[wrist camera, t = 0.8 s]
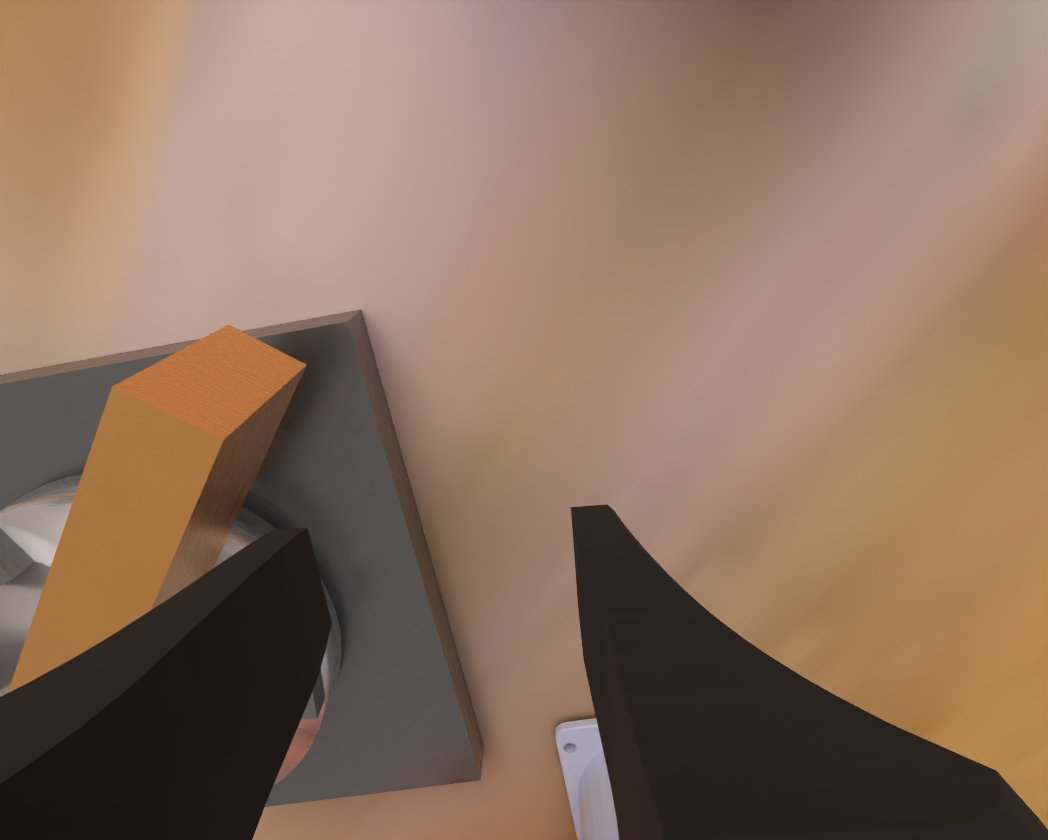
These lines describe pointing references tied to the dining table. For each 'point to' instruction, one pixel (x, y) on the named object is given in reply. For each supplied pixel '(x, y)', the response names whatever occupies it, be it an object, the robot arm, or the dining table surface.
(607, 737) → the robot arm
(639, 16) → the dining table surface
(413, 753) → the base plate
